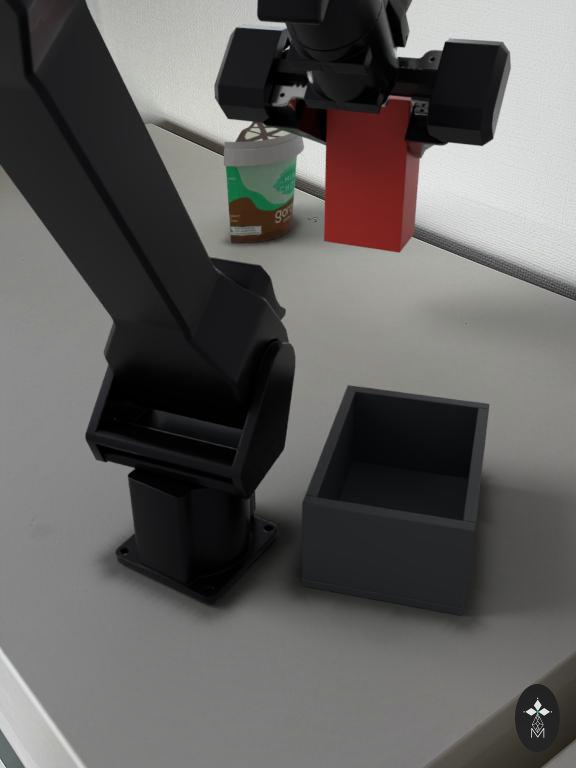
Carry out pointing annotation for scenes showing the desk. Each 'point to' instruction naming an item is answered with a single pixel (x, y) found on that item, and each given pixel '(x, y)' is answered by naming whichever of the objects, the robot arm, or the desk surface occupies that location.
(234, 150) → the food container
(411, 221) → the block
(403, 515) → the bin
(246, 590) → the desk surface
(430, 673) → the desk surface
